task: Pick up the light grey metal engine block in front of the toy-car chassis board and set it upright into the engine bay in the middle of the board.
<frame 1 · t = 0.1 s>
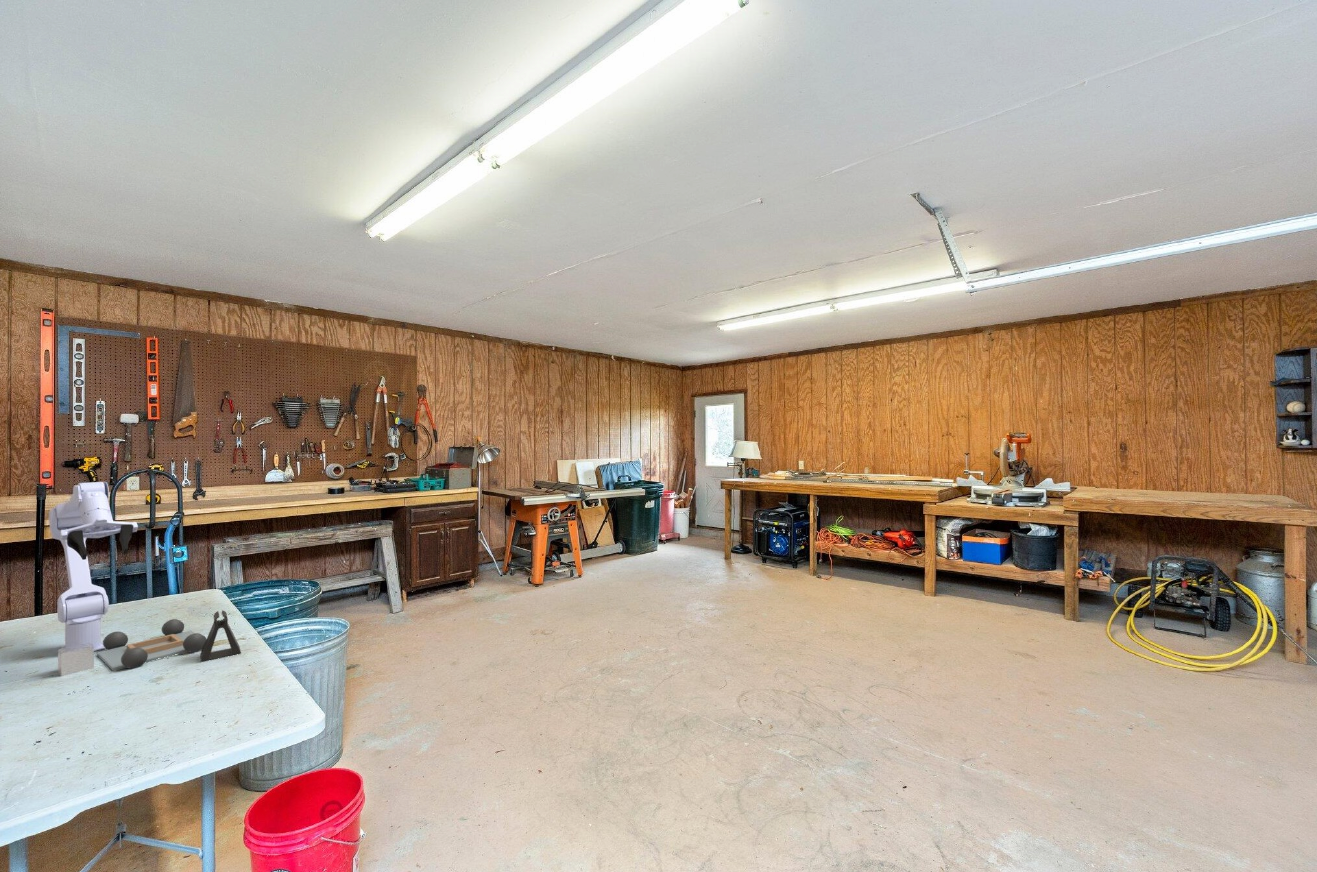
hand: (105, 554, 144), 32 cm above the table, tool tilted 50°, fingers open, 7 cm apart
phone stand: (220, 655, 157), on the table
engine block: (76, 670, 147), on the table
chassis board: (155, 650, 160), on the table
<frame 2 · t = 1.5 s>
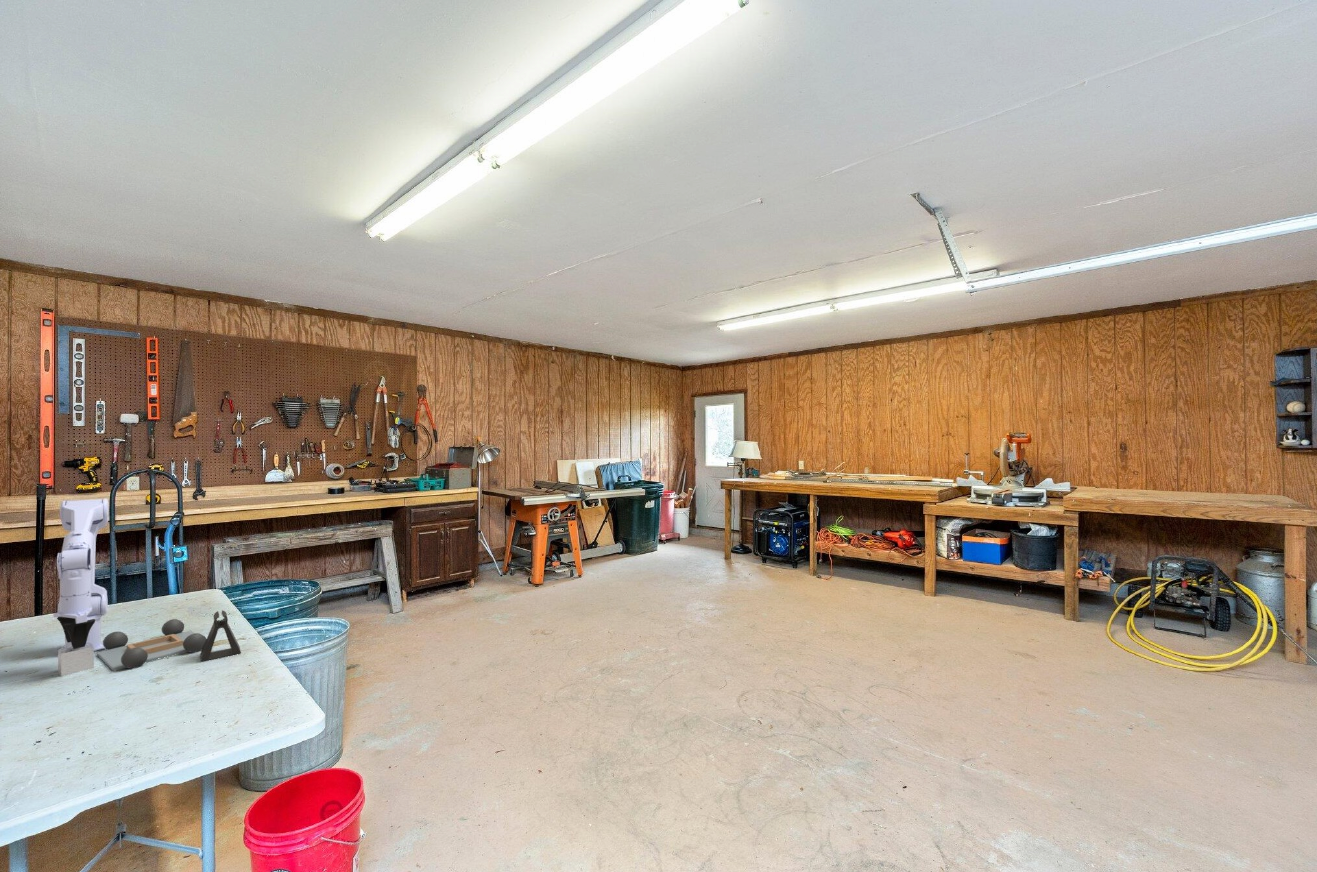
hand: (76, 644, 147), 7 cm above the table, tool pointing down, fingers open, 7 cm apart
nothing on the table moved.
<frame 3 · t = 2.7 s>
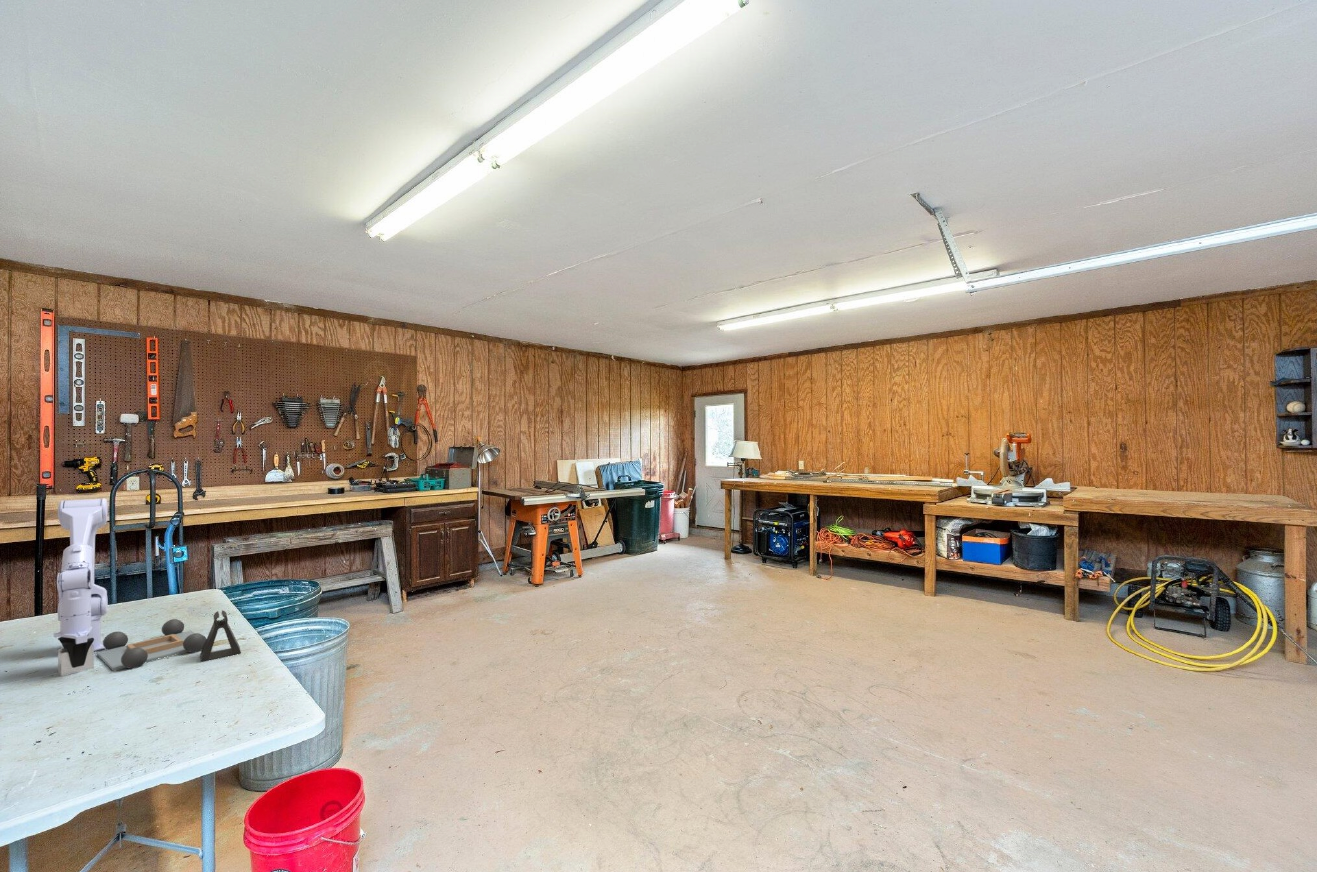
hand: (76, 663, 147), 2 cm above the table, tool pointing down, fingers closed on engine block, 4 cm apart
engine block: (76, 669, 147), on the table, touching gripper
everything else where it was.
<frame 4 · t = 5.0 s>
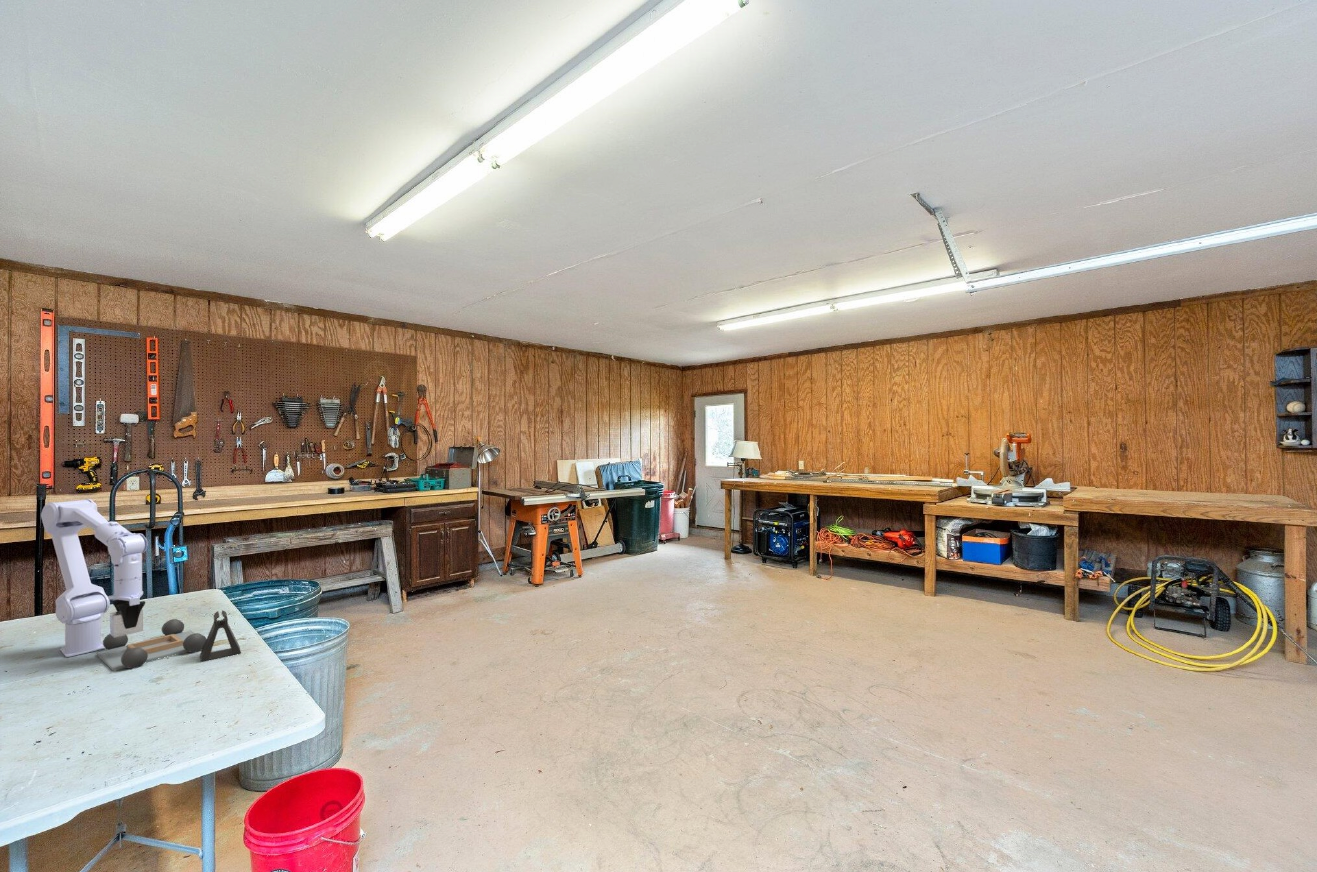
hand: (128, 625, 155), 9 cm above the table, tool pointing down, fingers closed on engine block, 4 cm apart
engine block: (126, 632, 155), point 7 cm above the table, touching gripper
everything else where it was.
when the fingers open (3 cm above the table, at t = 7.7 s): engine block stays where it is, resting on chassis board.
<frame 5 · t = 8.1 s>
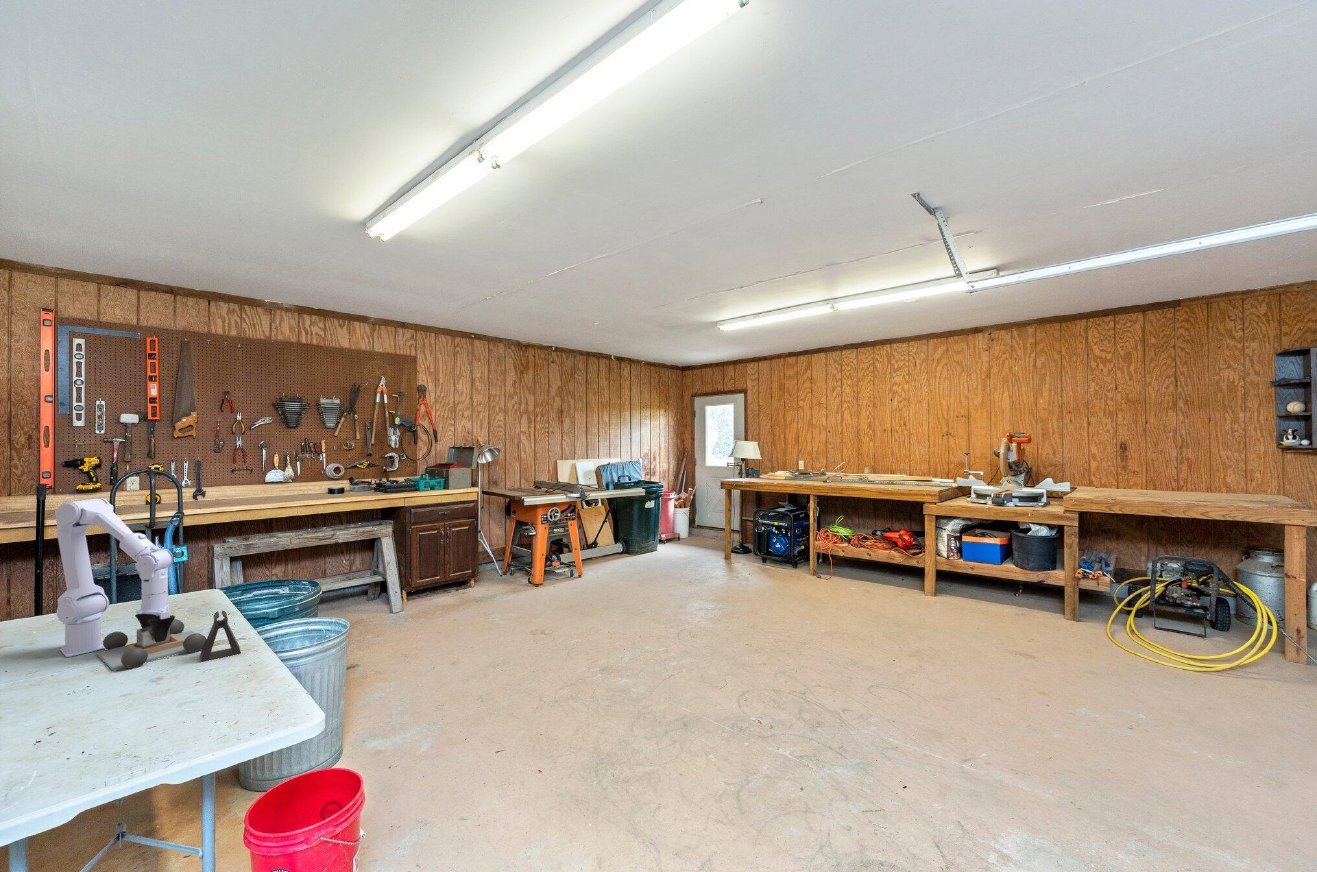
hand: (155, 638, 160), 3 cm above the table, tool pointing down, fingers open, 7 cm apart
engine block: (153, 648, 160), point 1 cm above the table, touching chassis board
everything else where it was.
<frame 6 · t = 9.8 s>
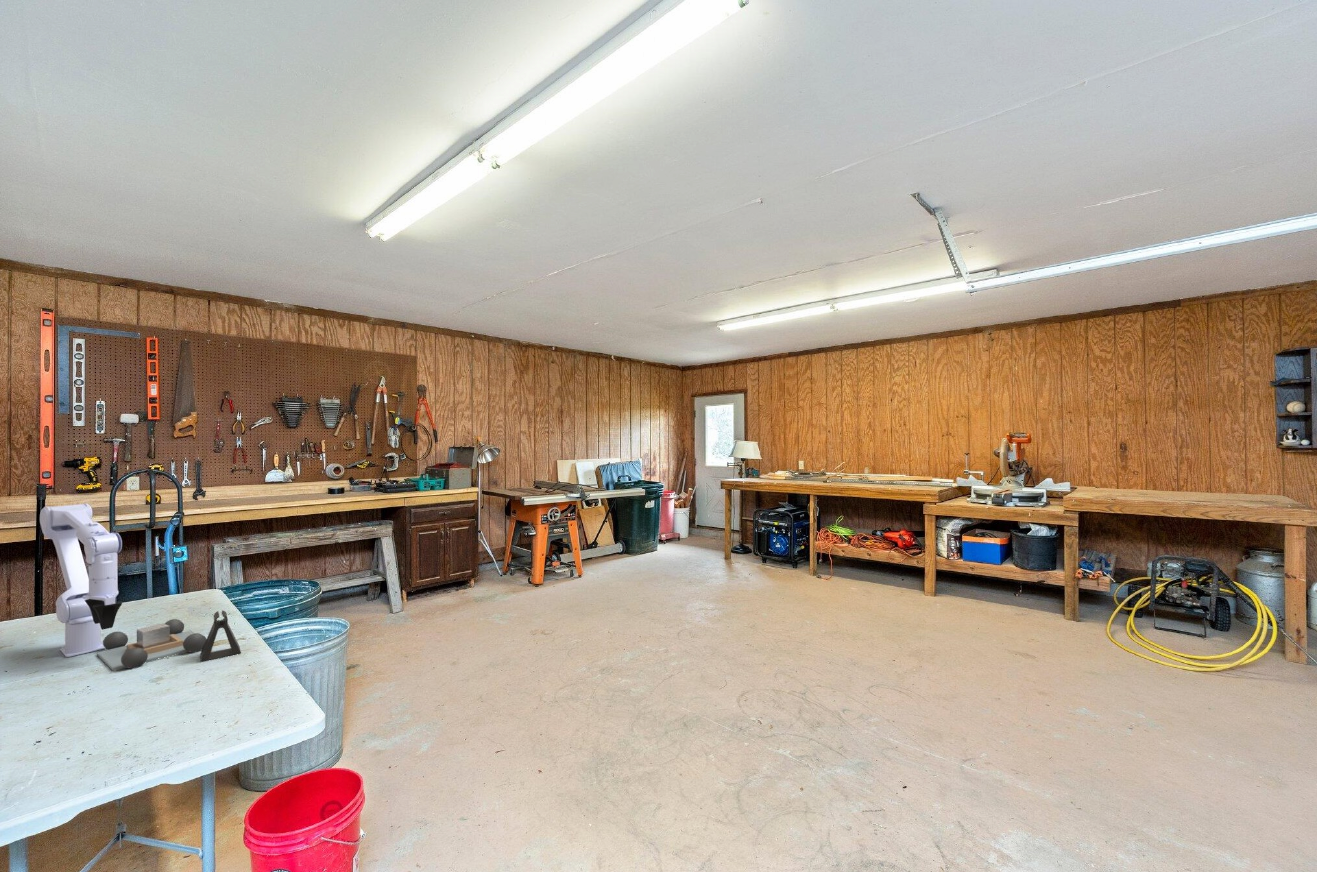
hand: (103, 625, 154), 9 cm above the table, tool pointing down, fingers open, 7 cm apart
nothing on the table moved.
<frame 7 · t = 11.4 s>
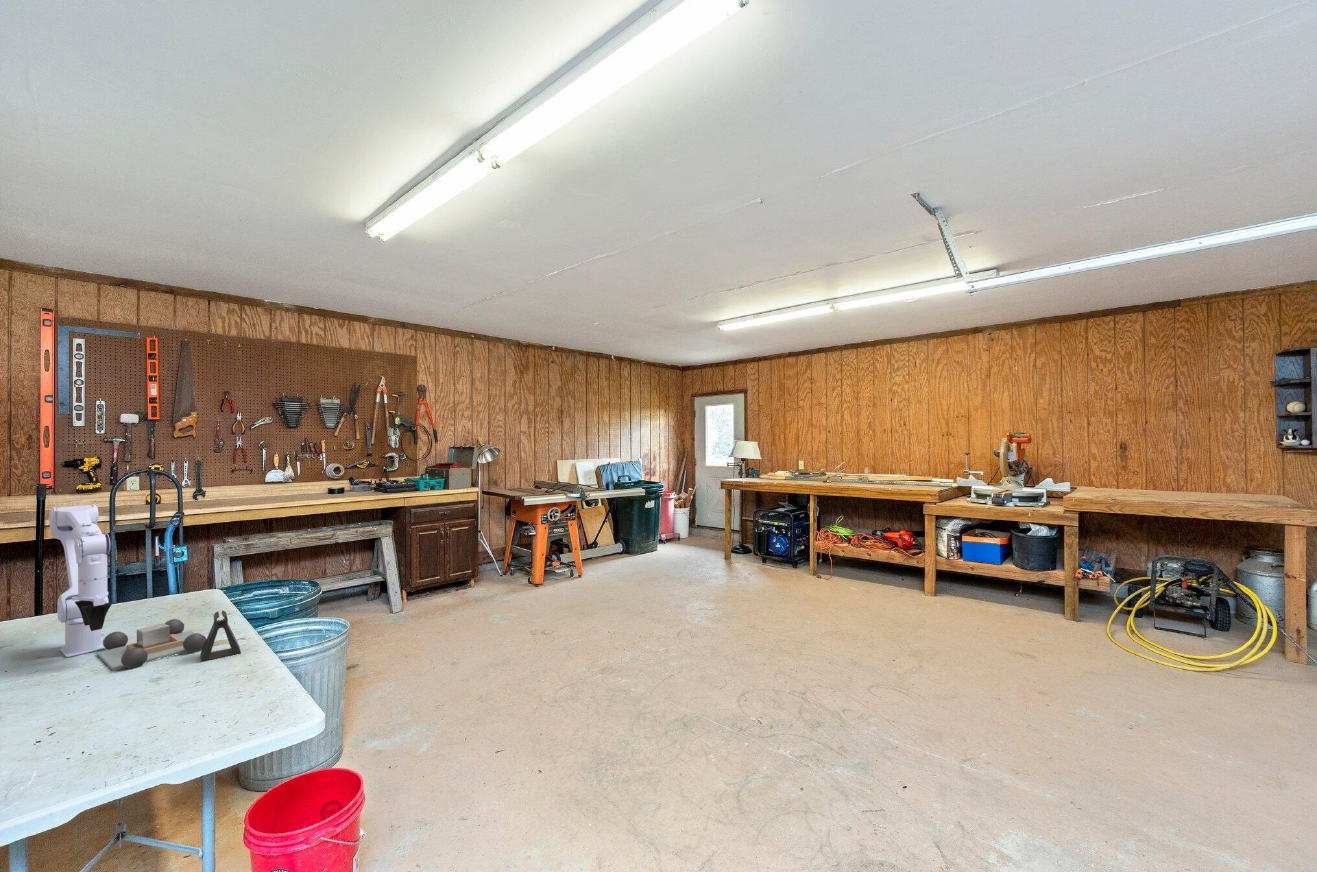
hand: (93, 627, 153), 9 cm above the table, tool pointing down, fingers open, 7 cm apart
nothing on the table moved.
at the end: engine block 0.4 cm off-centre on the chassis board, point 0.8 cm above the chassis board's base; engine block tilted 0°; the gripper is holding nothing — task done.
